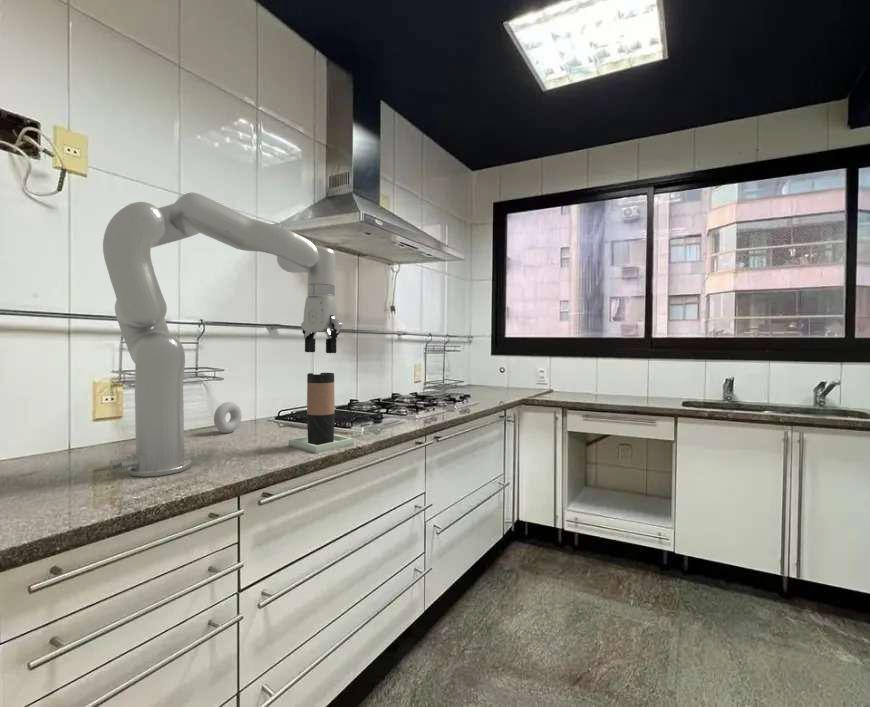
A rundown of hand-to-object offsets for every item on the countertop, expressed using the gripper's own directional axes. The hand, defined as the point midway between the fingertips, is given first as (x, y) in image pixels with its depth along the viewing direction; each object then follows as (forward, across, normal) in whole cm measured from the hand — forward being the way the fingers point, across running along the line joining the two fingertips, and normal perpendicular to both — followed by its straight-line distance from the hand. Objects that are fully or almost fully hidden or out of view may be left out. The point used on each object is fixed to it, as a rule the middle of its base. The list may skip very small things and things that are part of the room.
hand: (320, 352), depth 129 cm
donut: (+27, -37, -8) cm, 46 cm away
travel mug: (+26, 0, +1) cm, 26 cm away
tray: (+27, 0, +1) cm, 27 cm away
